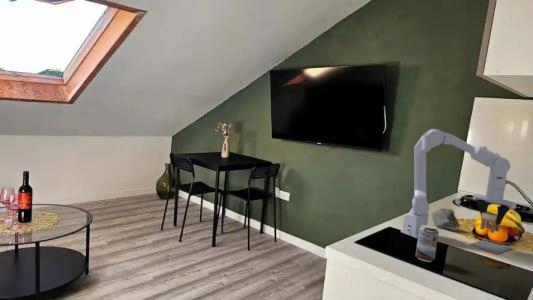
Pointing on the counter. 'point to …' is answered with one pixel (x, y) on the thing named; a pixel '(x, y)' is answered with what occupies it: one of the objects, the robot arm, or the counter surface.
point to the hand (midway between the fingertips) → (490, 221)
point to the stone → (445, 219)
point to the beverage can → (427, 243)
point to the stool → (489, 221)
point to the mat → (491, 247)
